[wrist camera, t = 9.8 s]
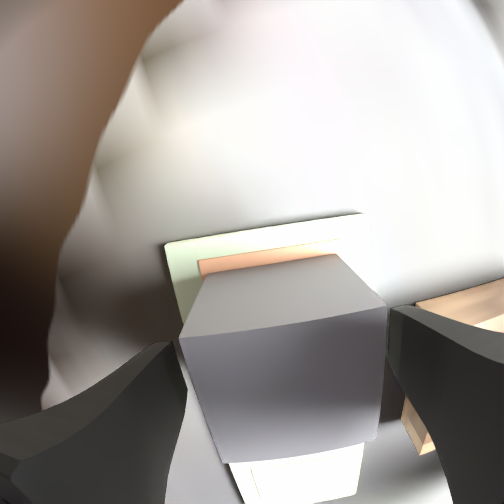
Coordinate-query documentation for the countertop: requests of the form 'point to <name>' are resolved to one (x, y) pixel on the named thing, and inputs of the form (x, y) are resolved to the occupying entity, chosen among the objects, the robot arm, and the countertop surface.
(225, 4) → the countertop surface
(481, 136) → the countertop surface
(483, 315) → the collar
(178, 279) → the board
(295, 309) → the block
